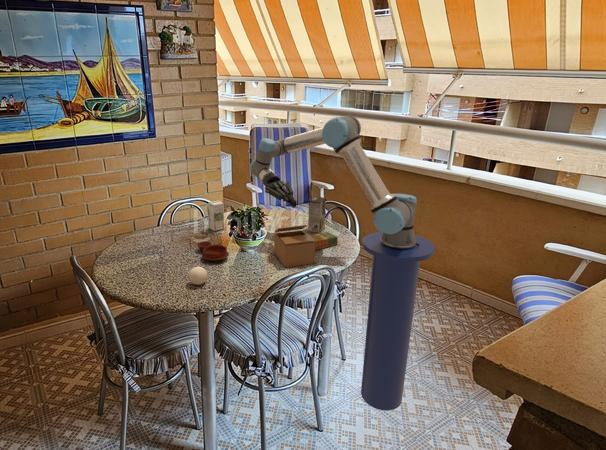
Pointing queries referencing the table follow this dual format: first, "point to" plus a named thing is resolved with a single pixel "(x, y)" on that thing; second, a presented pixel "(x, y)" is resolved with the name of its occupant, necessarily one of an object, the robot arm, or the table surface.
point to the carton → (324, 240)
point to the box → (294, 248)
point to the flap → (291, 228)
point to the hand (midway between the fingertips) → (294, 204)
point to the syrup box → (216, 215)
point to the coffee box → (316, 214)
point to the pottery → (213, 251)
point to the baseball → (198, 275)
